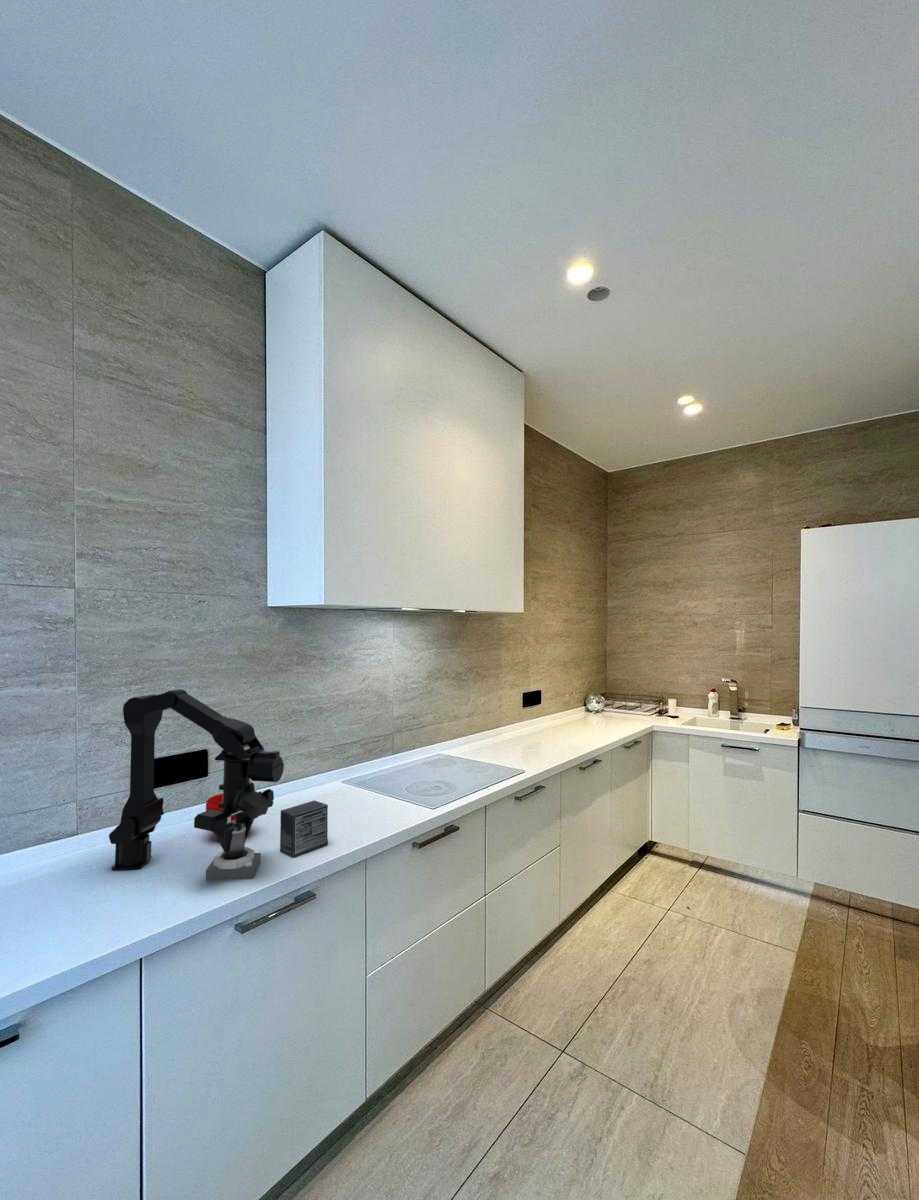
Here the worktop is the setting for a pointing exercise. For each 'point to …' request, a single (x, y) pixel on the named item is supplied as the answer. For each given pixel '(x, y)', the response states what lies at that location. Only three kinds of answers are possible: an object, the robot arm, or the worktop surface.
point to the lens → (236, 841)
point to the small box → (303, 828)
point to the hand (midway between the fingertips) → (234, 847)
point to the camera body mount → (233, 867)
